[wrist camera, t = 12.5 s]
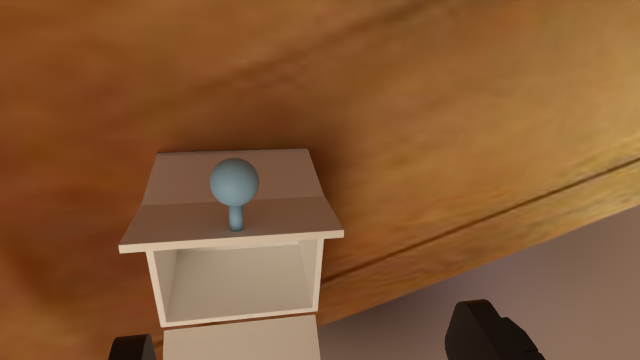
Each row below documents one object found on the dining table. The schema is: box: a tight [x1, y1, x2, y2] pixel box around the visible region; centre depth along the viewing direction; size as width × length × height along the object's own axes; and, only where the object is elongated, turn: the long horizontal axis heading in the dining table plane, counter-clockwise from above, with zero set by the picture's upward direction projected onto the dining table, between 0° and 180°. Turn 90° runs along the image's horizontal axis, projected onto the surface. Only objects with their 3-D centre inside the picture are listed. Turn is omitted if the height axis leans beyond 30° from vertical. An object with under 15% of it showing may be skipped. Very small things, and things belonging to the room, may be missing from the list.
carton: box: [141, 148, 324, 327], centre depth 44 cm, size 16×14×11 cm
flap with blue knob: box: [119, 158, 344, 253], centre depth 31 cm, size 15×7×6 cm
